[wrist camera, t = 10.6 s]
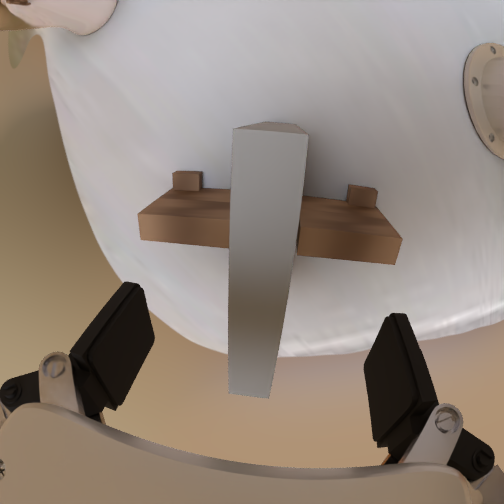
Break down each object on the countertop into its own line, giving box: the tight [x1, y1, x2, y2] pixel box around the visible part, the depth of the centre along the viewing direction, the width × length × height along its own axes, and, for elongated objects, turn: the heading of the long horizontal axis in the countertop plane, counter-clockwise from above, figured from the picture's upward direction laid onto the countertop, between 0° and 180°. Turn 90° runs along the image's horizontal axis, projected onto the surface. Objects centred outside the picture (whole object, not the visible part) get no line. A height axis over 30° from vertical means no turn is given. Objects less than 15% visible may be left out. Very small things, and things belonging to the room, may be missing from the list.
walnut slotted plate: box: [138, 171, 402, 265], centre depth 21 cm, size 18×5×7 cm, turn 87°
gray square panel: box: [228, 122, 309, 398], centre depth 18 cm, size 2×14×14 cm, turn 177°
